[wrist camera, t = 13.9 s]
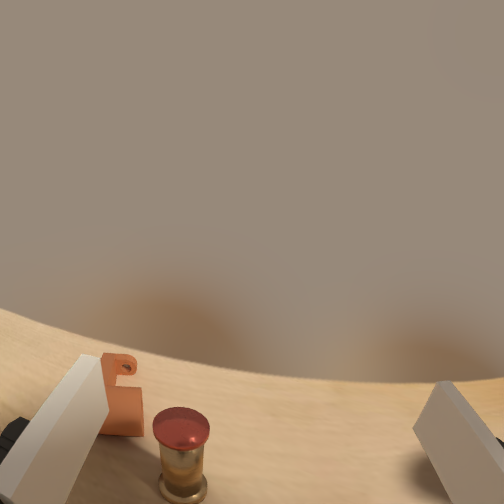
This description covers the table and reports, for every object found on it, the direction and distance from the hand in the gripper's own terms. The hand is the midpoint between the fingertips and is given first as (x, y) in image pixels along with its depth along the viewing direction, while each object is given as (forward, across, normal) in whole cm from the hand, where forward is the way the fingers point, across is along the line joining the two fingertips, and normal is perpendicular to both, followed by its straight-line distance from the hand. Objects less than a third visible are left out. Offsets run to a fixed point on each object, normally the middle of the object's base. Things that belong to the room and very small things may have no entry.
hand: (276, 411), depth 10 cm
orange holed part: (+30, -19, -32) cm, 48 cm away
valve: (+14, -6, -31) cm, 35 cm away
